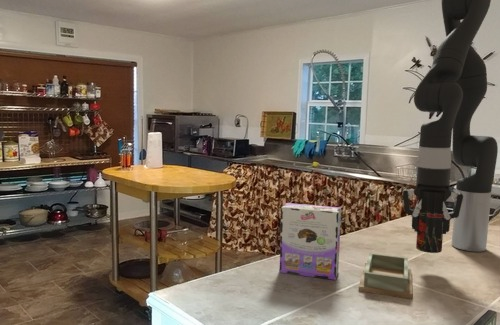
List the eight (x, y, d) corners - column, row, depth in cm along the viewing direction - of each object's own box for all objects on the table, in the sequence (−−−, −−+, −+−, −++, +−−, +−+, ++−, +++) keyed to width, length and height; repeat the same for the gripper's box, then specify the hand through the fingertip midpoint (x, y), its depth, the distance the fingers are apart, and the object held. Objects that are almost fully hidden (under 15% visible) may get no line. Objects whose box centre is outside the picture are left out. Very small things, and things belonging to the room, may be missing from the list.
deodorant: (444, 253, 104) (448, 193, 102) (418, 252, 105) (422, 191, 103) (438, 246, 110) (442, 188, 108) (414, 244, 111) (417, 187, 109)
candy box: (338, 272, 105) (342, 206, 103) (335, 281, 100) (339, 211, 98) (284, 264, 110) (286, 201, 108) (278, 272, 104) (280, 206, 102)
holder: (364, 266, 109) (365, 251, 109) (410, 273, 106) (411, 257, 105) (358, 290, 94) (359, 273, 94) (411, 299, 91) (413, 280, 90)
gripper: (464, 164, 106) (459, 231, 108) (402, 162, 110) (399, 225, 113) (468, 168, 99) (463, 239, 101) (402, 165, 103) (399, 233, 106)
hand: (429, 231), depth 107 cm, fingers closed on deodorant, 6 cm apart
